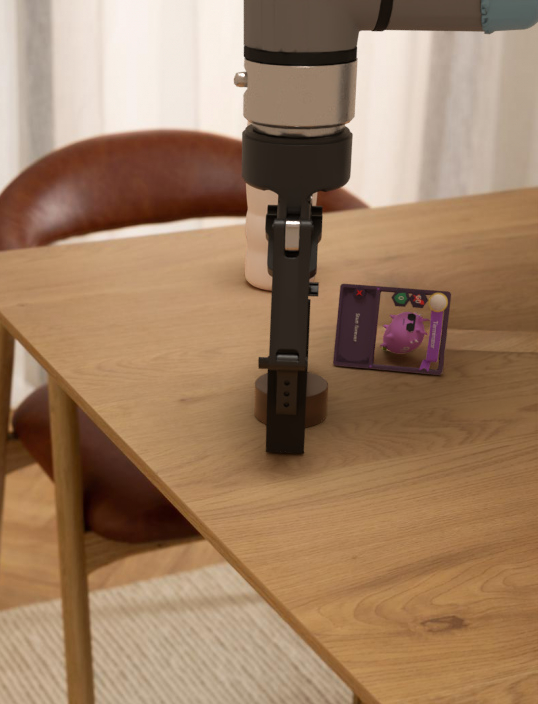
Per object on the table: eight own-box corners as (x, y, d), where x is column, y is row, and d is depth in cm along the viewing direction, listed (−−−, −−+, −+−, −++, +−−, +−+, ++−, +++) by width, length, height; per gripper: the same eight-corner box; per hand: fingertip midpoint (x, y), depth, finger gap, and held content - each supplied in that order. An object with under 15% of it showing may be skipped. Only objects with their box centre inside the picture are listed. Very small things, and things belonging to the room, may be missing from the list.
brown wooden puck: (326, 400, 92) (328, 370, 91) (326, 429, 87) (327, 398, 86) (256, 398, 93) (256, 368, 92) (252, 427, 88) (252, 396, 87)
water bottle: (246, 293, 115) (248, 19, 104) (242, 271, 121) (244, 10, 110) (319, 292, 115) (329, 18, 104) (311, 270, 122) (320, 10, 110)
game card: (339, 283, 97) (450, 291, 95) (347, 285, 102) (453, 293, 100) (331, 365, 98) (441, 375, 96) (340, 363, 103) (445, 373, 101)
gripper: (252, 92, 91) (248, 350, 101) (228, 165, 69) (226, 485, 79) (350, 94, 91) (336, 353, 101) (356, 167, 69) (338, 489, 79)
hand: (288, 411), depth 90 cm, fingers open, 13 cm apart
